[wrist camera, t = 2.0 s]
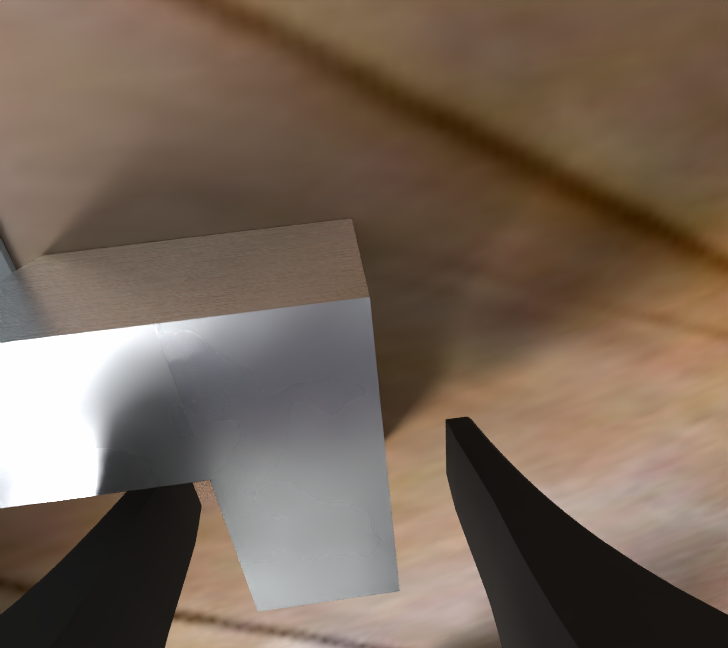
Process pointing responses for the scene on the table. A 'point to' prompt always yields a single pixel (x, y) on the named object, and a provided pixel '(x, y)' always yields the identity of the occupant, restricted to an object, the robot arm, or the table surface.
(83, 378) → the bracket
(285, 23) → the table surface
